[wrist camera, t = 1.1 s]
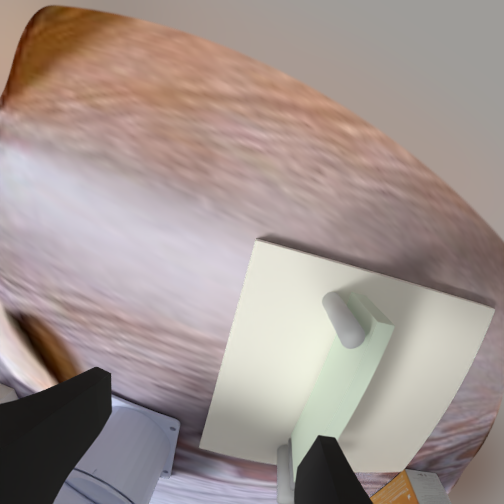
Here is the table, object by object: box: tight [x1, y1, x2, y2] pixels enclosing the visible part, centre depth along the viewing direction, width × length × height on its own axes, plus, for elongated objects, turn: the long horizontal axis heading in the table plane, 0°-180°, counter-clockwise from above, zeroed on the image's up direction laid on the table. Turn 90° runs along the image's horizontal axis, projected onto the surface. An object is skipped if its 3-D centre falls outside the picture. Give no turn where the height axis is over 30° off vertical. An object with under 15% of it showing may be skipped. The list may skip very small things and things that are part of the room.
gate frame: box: [199, 238, 495, 504], centre depth 17 cm, size 18×20×6 cm
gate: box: [288, 292, 395, 491], centre depth 16 cm, size 13×1×5 cm, turn 165°
